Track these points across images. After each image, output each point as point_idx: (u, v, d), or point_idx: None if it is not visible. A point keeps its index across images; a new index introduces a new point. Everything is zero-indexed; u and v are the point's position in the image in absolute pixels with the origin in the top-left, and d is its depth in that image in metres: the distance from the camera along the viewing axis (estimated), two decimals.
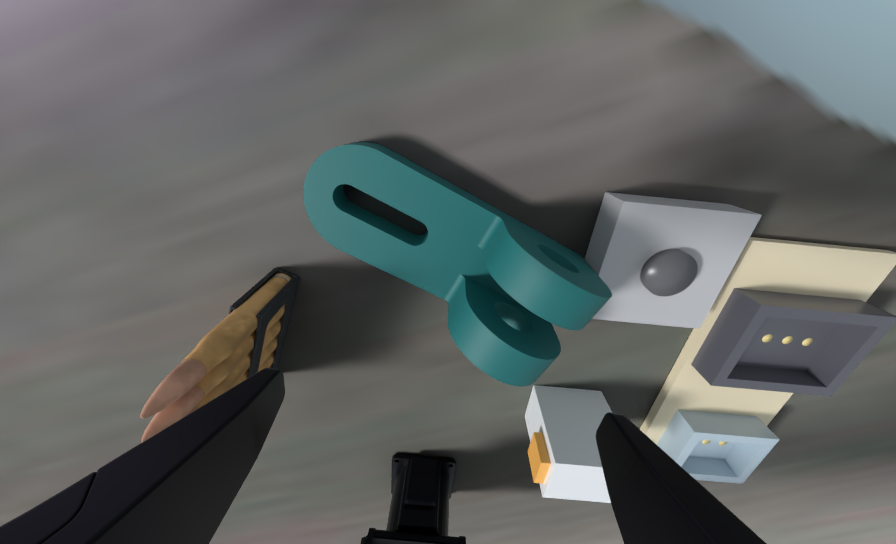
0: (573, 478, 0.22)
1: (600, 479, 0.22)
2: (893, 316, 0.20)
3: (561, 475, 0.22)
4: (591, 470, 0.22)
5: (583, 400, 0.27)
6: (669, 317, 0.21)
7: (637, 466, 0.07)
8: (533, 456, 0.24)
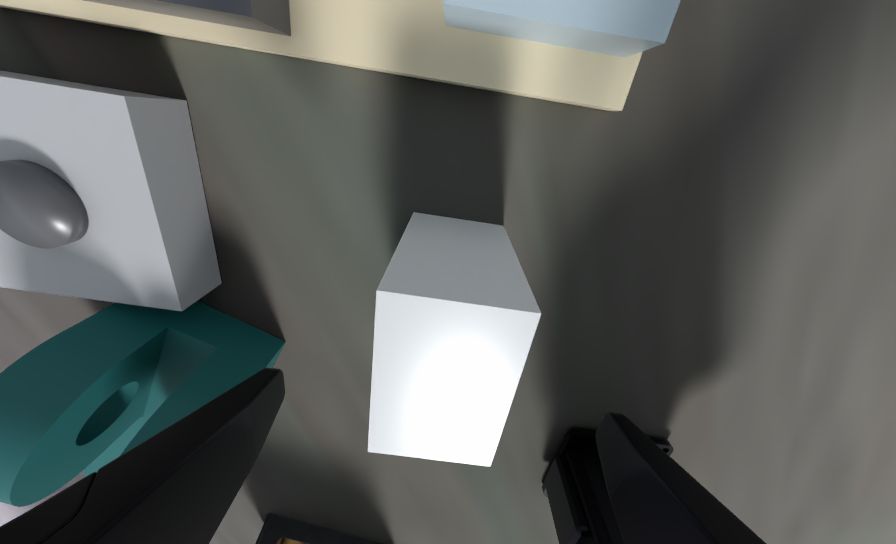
0: (420, 423, 0.09)
1: (420, 376, 0.09)
2: None
3: (409, 441, 0.10)
4: (385, 396, 0.09)
5: None
6: (125, 171, 0.11)
7: (637, 466, 0.07)
8: None
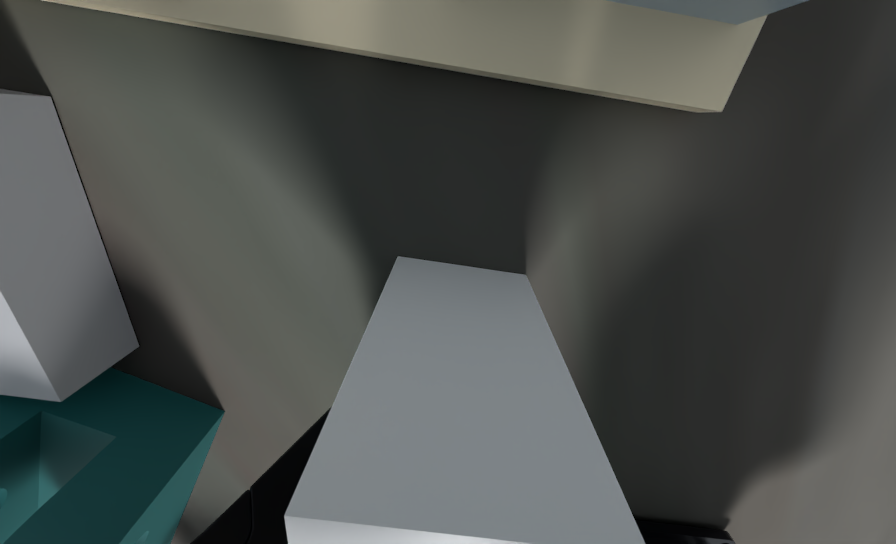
0: None
1: None
2: None
3: None
4: None
5: None
6: None
7: None
8: None
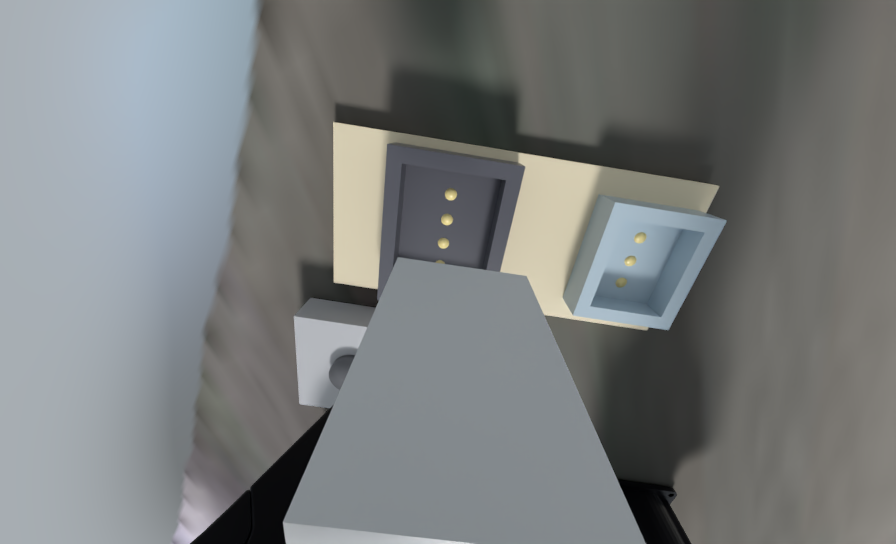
0: None
1: None
2: (387, 149, 0.16)
3: None
4: None
5: None
6: None
7: None
8: None
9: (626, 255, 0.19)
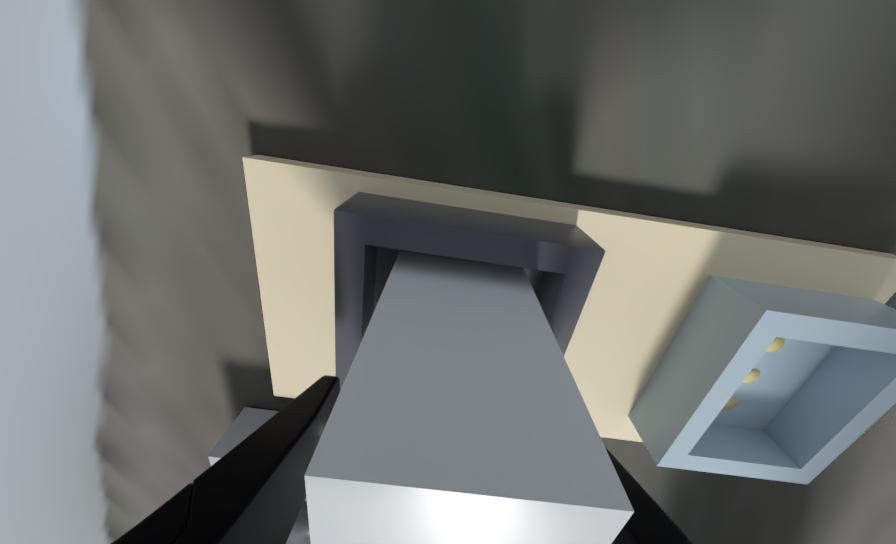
0: None
1: None
2: (335, 218, 0.08)
3: None
4: None
5: None
6: None
7: None
8: None
9: None
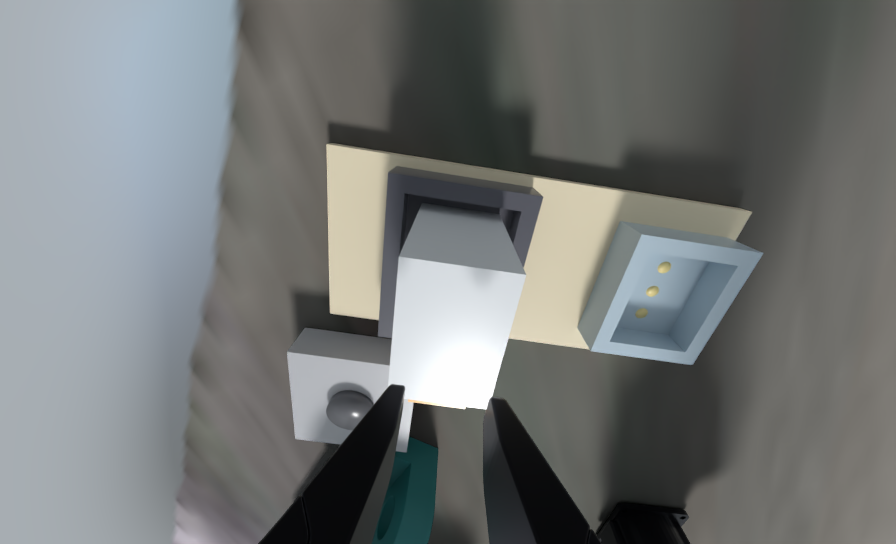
0: (430, 370, 0.12)
1: (431, 328, 0.11)
2: (388, 177, 0.14)
3: (421, 387, 0.12)
4: (402, 346, 0.11)
5: None
6: None
7: (498, 449, 0.07)
8: None
9: (648, 285, 0.18)
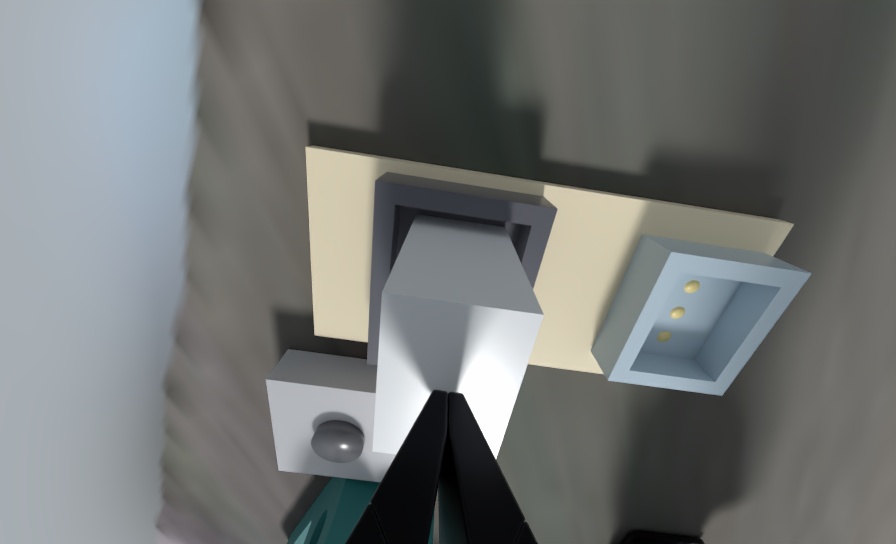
0: None
1: (424, 376, 0.09)
2: (375, 186, 0.12)
3: None
4: (389, 396, 0.09)
5: None
6: None
7: (448, 442, 0.07)
8: None
9: (673, 306, 0.16)
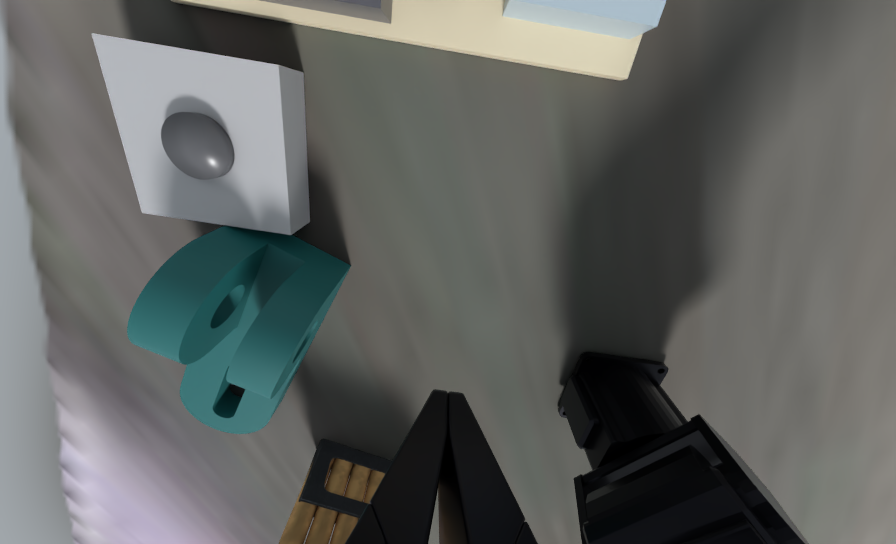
0: None
1: None
2: None
3: None
4: None
5: None
6: (269, 121, 0.15)
7: (447, 442, 0.07)
8: None
9: None
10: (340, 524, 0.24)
